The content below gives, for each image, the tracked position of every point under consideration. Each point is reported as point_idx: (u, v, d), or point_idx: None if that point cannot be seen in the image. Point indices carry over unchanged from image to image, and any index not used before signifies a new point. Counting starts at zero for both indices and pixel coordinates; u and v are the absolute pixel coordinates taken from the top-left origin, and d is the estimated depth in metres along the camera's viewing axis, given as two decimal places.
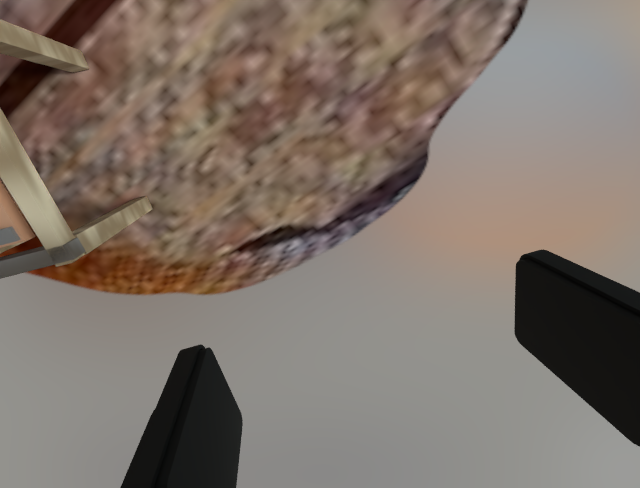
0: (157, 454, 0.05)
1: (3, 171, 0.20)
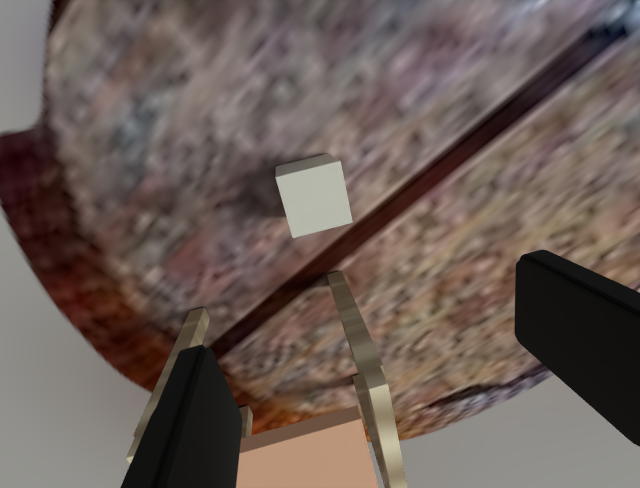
0: (157, 454, 0.05)
1: (394, 482, 0.23)
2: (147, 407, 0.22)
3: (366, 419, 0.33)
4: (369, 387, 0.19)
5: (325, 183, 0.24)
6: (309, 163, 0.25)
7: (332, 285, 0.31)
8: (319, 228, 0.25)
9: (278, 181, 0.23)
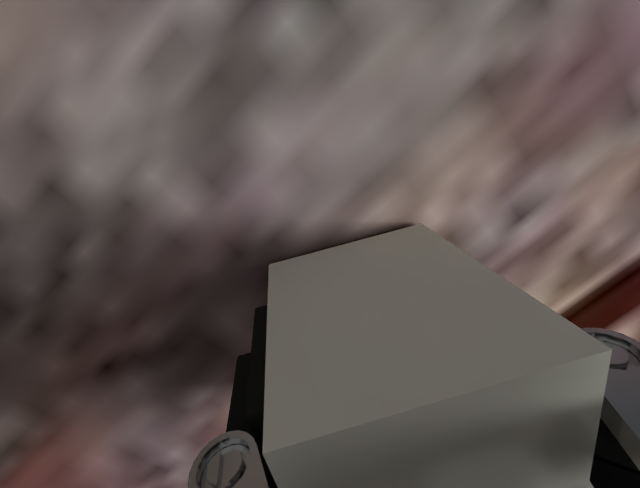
0: None
1: None
2: None
3: None
4: None
5: (514, 444, 0.05)
6: (397, 295, 0.07)
7: None
8: None
9: (279, 467, 0.04)
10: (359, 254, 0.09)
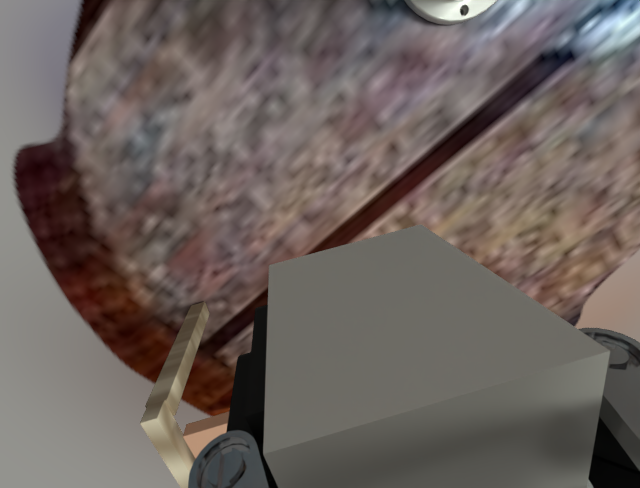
0: None
1: None
2: (155, 384, 0.25)
3: None
4: None
5: (513, 444, 0.05)
6: (396, 296, 0.07)
7: None
8: None
9: (279, 468, 0.04)
10: (359, 255, 0.09)
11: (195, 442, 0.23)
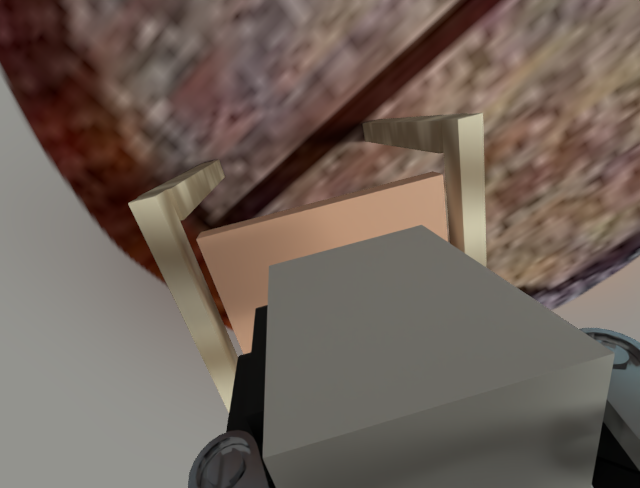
0: None
1: None
2: None
3: None
4: (457, 119, 0.14)
5: (516, 447, 0.05)
6: (397, 297, 0.07)
7: (372, 122, 0.26)
8: None
9: (279, 472, 0.04)
10: (359, 255, 0.09)
11: (215, 253, 0.15)
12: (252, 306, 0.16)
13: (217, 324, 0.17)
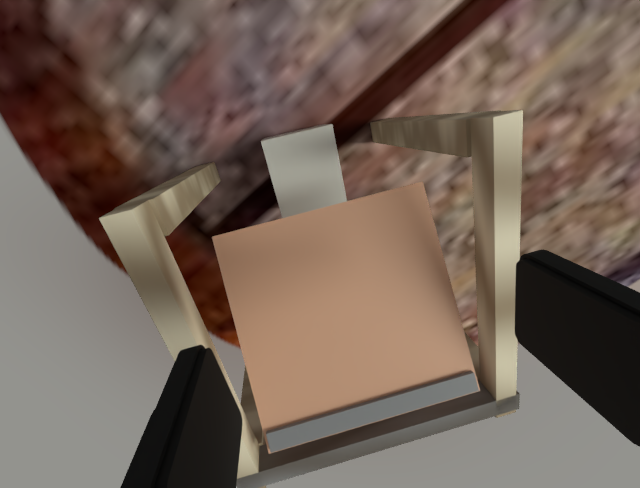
0: (157, 454, 0.05)
1: (502, 320, 0.15)
2: None
3: None
4: (492, 117, 0.12)
5: (306, 128, 0.24)
6: None
7: (381, 121, 0.24)
8: (293, 133, 0.21)
9: (264, 138, 0.25)
10: None
11: (226, 249, 0.17)
12: (255, 305, 0.17)
13: None
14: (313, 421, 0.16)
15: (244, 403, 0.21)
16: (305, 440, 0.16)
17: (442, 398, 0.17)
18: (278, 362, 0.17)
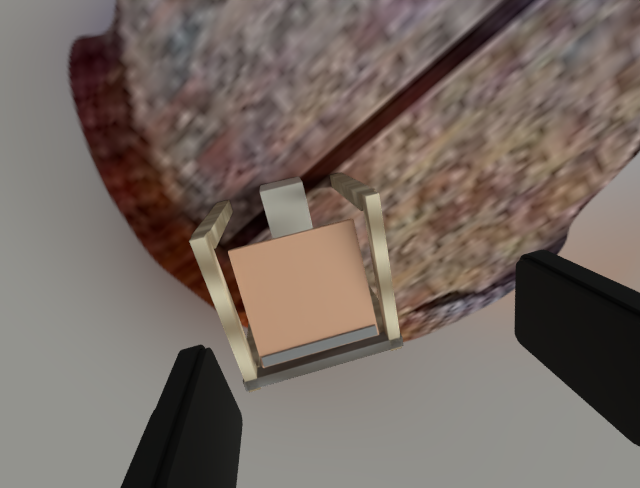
0: (157, 454, 0.05)
1: (385, 293, 0.30)
2: (196, 229, 0.29)
3: None
4: (365, 196, 0.26)
5: (288, 180, 0.39)
6: None
7: (334, 177, 0.38)
8: (279, 187, 0.35)
9: (261, 185, 0.39)
10: None
11: (236, 259, 0.28)
12: (254, 290, 0.29)
13: (232, 308, 0.28)
14: (287, 351, 0.30)
15: None
16: (283, 360, 0.30)
17: (357, 338, 0.31)
18: (268, 321, 0.30)
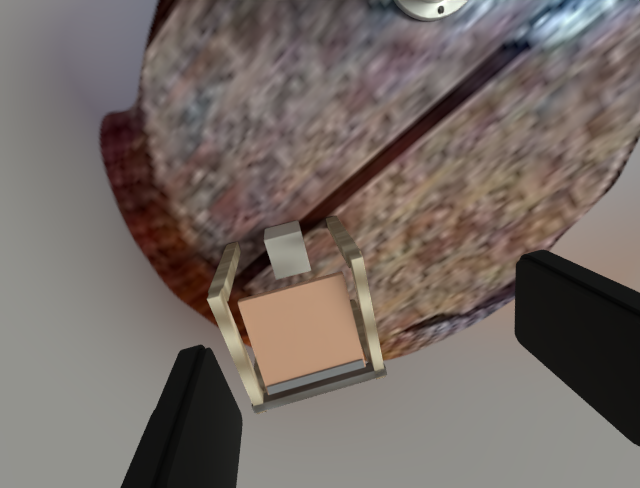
0: (157, 454, 0.05)
1: (370, 334, 0.35)
2: (212, 283, 0.34)
3: None
4: (351, 259, 0.32)
5: (289, 225, 0.44)
6: None
7: (329, 223, 0.43)
8: (280, 235, 0.41)
9: (265, 229, 0.45)
10: None
11: (245, 308, 0.34)
12: (260, 333, 0.35)
13: (242, 348, 0.34)
14: (288, 382, 0.36)
15: None
16: (284, 389, 0.36)
17: (347, 371, 0.36)
18: (271, 357, 0.35)
